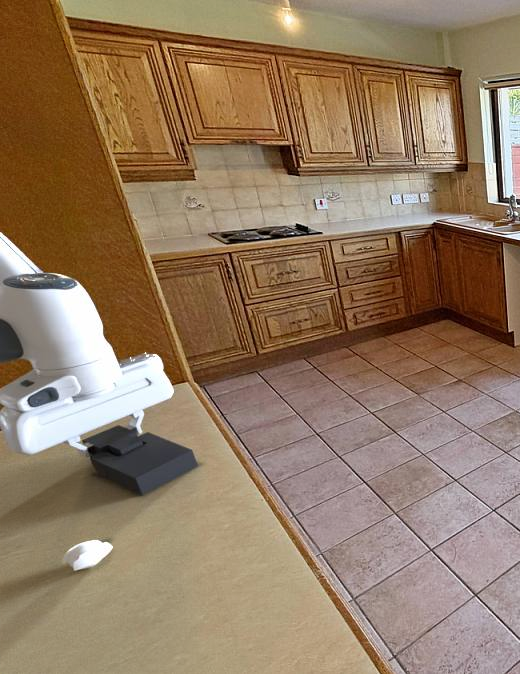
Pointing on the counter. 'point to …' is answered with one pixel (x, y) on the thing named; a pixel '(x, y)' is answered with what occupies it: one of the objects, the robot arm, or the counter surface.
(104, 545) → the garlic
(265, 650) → the counter surface
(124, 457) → the base pad
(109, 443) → the pad
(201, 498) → the counter surface
